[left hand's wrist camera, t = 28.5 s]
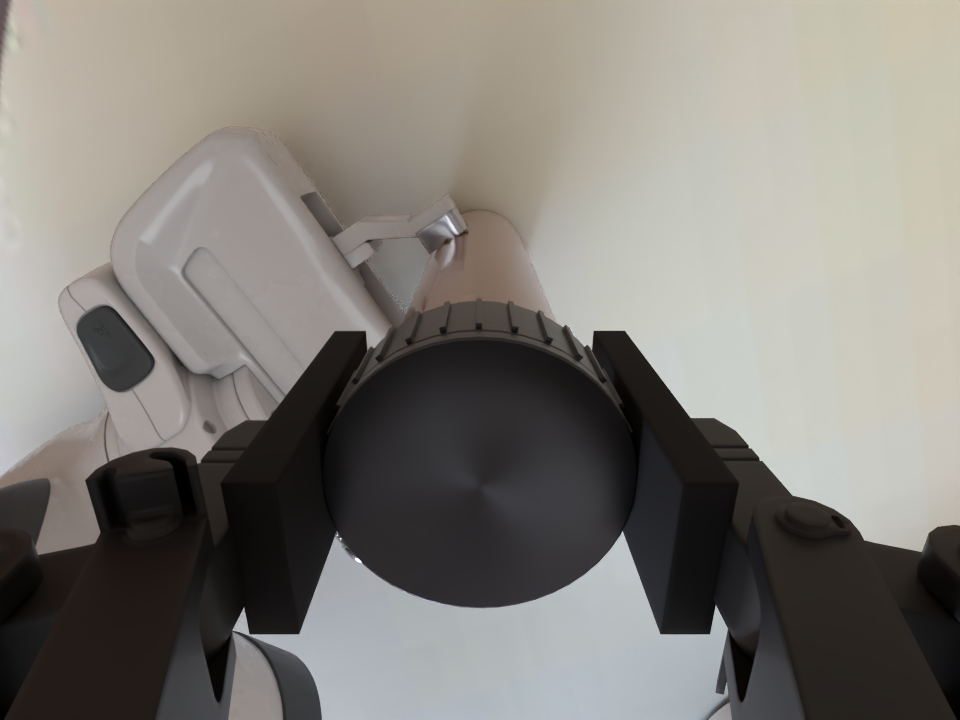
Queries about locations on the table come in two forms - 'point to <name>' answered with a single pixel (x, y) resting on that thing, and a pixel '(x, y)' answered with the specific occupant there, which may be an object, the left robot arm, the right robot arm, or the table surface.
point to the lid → (479, 457)
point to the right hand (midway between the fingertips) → (497, 273)
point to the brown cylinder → (481, 268)
